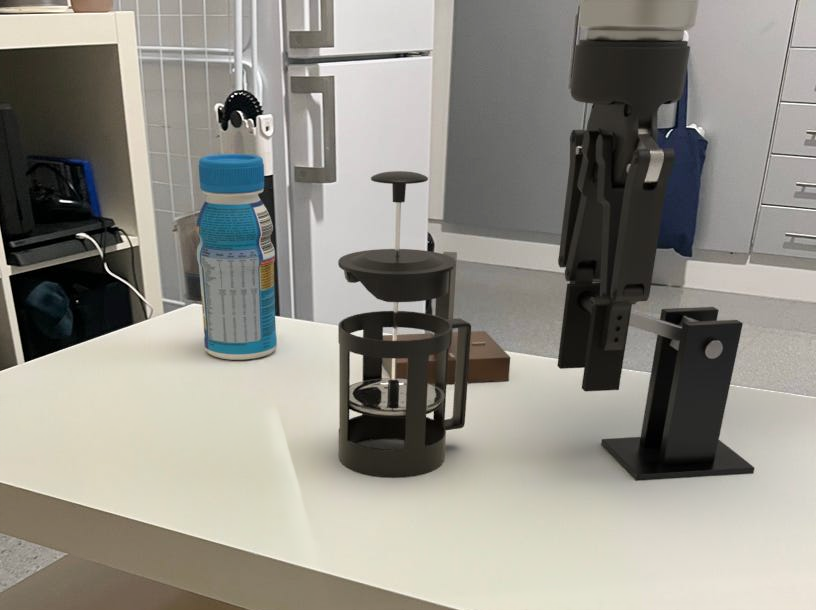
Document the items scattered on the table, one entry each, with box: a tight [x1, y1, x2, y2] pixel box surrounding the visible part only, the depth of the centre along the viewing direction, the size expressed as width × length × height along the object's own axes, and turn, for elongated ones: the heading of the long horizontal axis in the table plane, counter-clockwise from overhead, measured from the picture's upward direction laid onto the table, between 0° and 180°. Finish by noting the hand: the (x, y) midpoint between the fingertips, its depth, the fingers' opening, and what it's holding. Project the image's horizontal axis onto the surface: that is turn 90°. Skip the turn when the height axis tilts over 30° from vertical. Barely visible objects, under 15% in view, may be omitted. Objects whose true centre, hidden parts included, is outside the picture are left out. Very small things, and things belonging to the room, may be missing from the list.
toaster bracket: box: [600, 306, 756, 482], centre depth 82 cm, size 10×8×13 cm
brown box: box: [382, 330, 511, 385], centre depth 109 cm, size 12×10×3 cm
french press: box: [337, 170, 472, 479], centre depth 80 cm, size 12×9×23 cm
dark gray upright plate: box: [433, 251, 458, 340], centre depth 105 cm, size 5×1×9 cm, turn 168°
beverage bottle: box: [195, 153, 278, 361], centre depth 110 cm, size 8×8×20 cm
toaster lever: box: [577, 291, 698, 350], centre depth 79 cm, size 11×5×2 cm, turn 98°
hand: (587, 376), depth 80 cm, fingers closed on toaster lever, 5 cm apart
